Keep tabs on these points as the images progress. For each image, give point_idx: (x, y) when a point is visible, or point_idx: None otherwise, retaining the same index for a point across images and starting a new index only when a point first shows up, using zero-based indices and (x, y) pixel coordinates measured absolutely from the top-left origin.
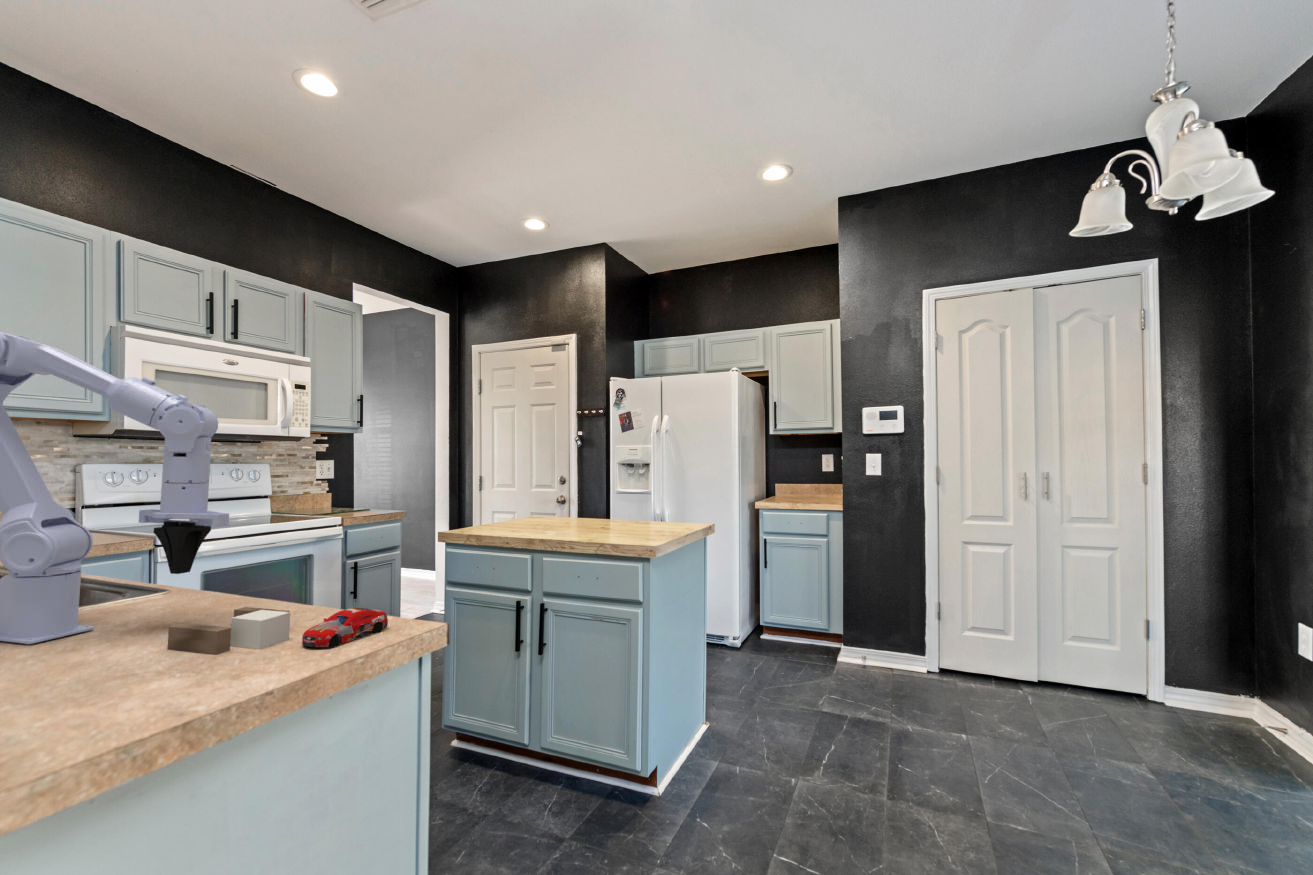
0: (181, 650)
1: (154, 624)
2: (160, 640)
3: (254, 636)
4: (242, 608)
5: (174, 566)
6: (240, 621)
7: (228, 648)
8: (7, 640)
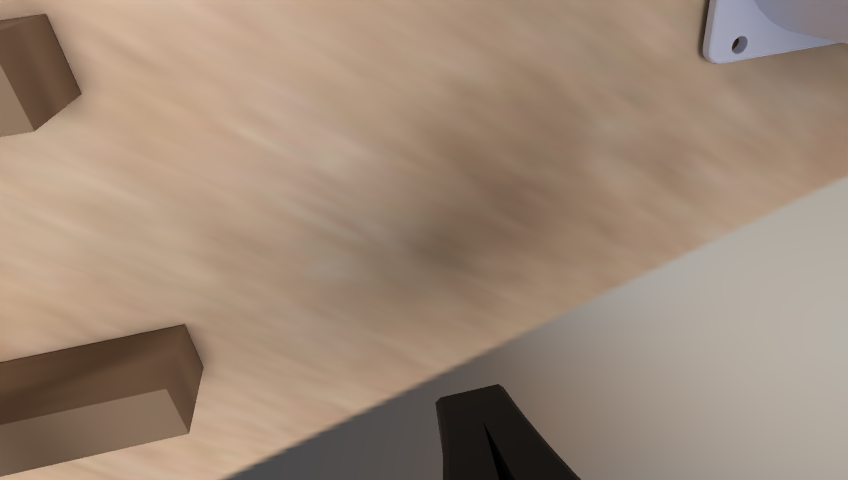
0: None
1: (558, 224)
2: (267, 95)
3: None
4: (165, 416)
5: (465, 431)
6: None
7: None
8: None
